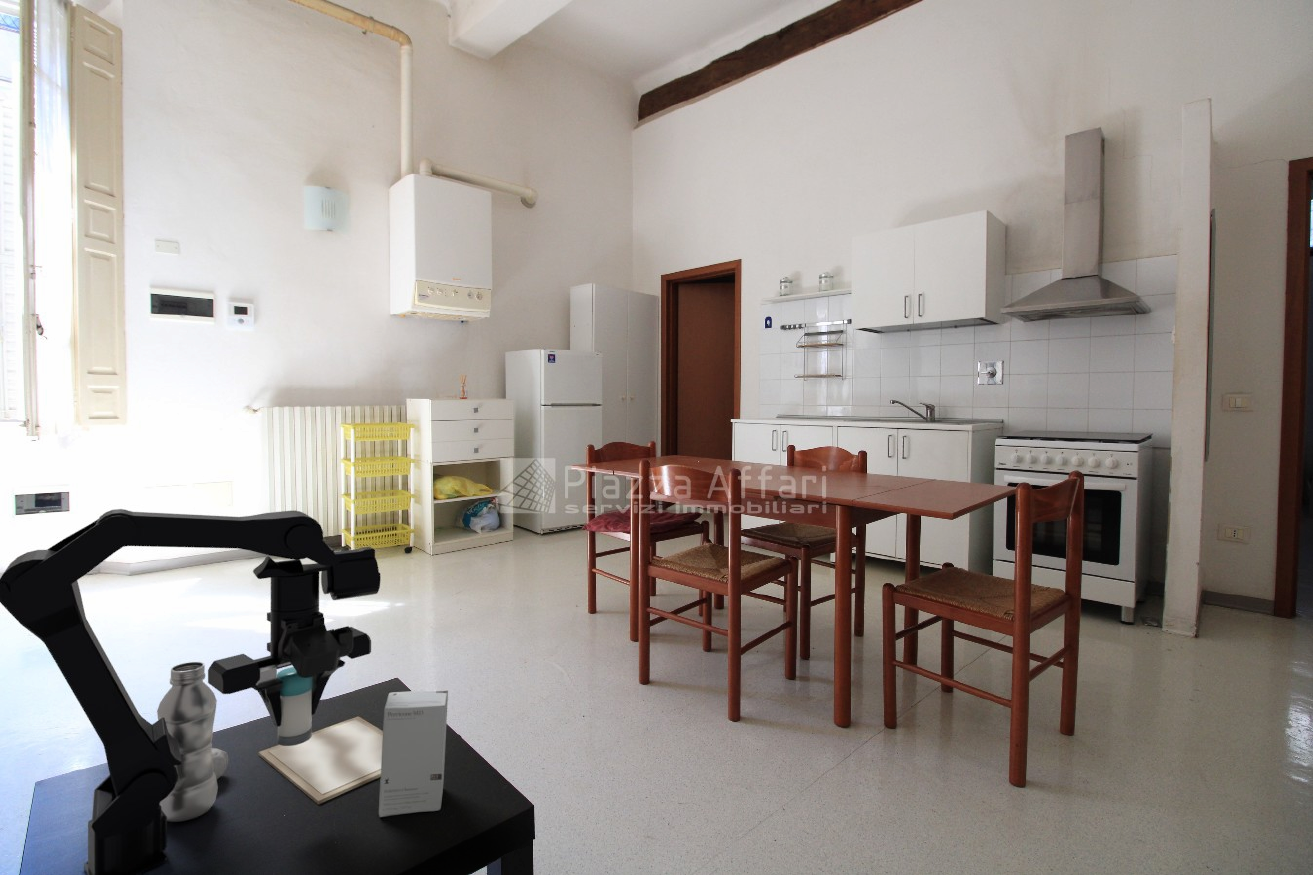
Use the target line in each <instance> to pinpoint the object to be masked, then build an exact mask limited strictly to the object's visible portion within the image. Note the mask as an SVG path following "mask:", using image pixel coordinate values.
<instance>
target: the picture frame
mask: <svg viewBox="0 0 1313 875" xmlns="http://www.w3.org/2000/svg"><path fill="white" fill-rule="evenodd" d="M382 741H383V729H382V730H381V729H380V728H379V727H377V726H375V725H373V724H372V723H370V722H368V721H367V720H365V719H363V718H362V717H360V716H356V717H352V718H350V719H346V720H344V721H341V722H339V723H336V724H333V725H331V726H327V727H325V728H322V729H319V730H317V731H314V732H313V731H312V737H311V738H310V739H309V740H307V741H306V742H304V743H301V744H298V745H293V746H282V745H279V744H277V745H275V746H271V747H269V748H267V749H264V750H261V751H258V756H259V757H260V758H261V759H263V760H264V761H265V762H266V763H267V764H268V765H270V766H271V767H272V768H274V770H276V771H277V772H278V773H279V774H281V775H282V776H283V777H284V778H285V779H287V781H289V782H291V784H293V785H294V786H295V787H296V788H298V789H299V790H300V791H301V792H303V793H304V794H305V795H306V796H307V797H309V799H311V800H312V801H313V802H315V803H316V804H317V805H321V804H323V803H325V802H327V801H329V800H332V799H334V798H336V797H338V796H340V795H342V794H345V793H347V792H350V791H351V790H354V789H356V788H358V787H360V786H363V785H366V784H367V783H369V782H371V781H374V780H376V779H379V778H381V761H382Z"/></svg>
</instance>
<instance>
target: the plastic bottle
mask: <svg viewBox="0 0 1313 875" xmlns="http://www.w3.org/2000/svg"><path fill="white" fill-rule="evenodd" d="M205 666H206V664H205V663H204V662H202V661H188V662H183V663H179V664H177V665H174V666H173V667H171V669H170V679H169V684H170V685H172V686H171V688H170V689H169V690H168V691H167V692H166V694H165V695H164V696H163V697H162V699H161V700H160V702H159V705H158V708H157V710H156V716H157V719H158V720H160V719H161V718H165V722H166V725H167V729H168V732H169V734H170V735H171V736H172V737H173V738H175V739H176V740H178V745H179V751H180V757H181V764H180V765H177V771H178V781H177V783H176V785H175V787H174V789H173V791H172V792H171V793H170V794H169V795H168V796H167V797H166V798H165V799H164V800H162V801H161V802H160V806H161V810H162V811H163V813H164V814H165V815H166V816H167V822H172V823H177V822H178V823H179V822H185V821H190V820H193V819H197V818H199V816H200V817H201V816H202V815H204V814H205V813H207V812H208V811H209V810H210V809H211V807H212V806H214V803H215V802H216V801H217V795H218V789H219V786H218V779H216V776H215V772H214V766H213V757H212V748H213V741H212V740H213V732H214V731H213V730H214V723H215V716H216V711H217V702H218V700H217V698H216V695H215V692H214V691H213V690H212V689H211V688H210V687H209V686H208V685H207V684H206V683H205V682H204V681H203V680H205V679H206V673H205V669H206V668H205ZM158 720H157V721H158Z"/></svg>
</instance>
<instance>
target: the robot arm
mask: <svg viewBox="0 0 1313 875" xmlns="http://www.w3.org/2000/svg"><path fill="white" fill-rule="evenodd" d="M125 547H150V548H151V547H152V548H153V547H154V548H156V547H157V548H158V547H160V548H194V549H195V548H196V549H197V548H200V549H201V548H203V549H238V550H244V551H250V552H253V553H254V552H255V553H258V554H263V555H266V557H265V559H263V561H262V562H261V563H260V564H259V565H258V566H256V567H255V568H253V570H252V573H253V574H254V576H255V577H256V578H257V579H258V580H262V579H263V580H264V579H270V612H266V621H268V622H270V641H269V642H266V651H267V652H269V653H270V655H267V656H264V657H260V658H255V659H253V658H251V657H250V656H248V655H246V654H245V653H240V654H235V655H232V656H228V657H224V658H221V659H216V660H213V661H212V663H211V665H210V666H209V668H208V670H207V684H209V685H211V686H212V688H214V689H215V690H217V691H218V692H220V694H222V695H231V694H235V693H238V692H242V691H246V690H249V689H253V690H255V691H257V693H258V694H259V696H260V698H261V699H262V702H263V703H264V706H265V708H266V710H267V712H268V714H269V716H270V718H271V720H272V722H273V725H275V727H277V728H278V727H279V726H281V718H282V714H281V700H280V688H281V686H282V684H283V681H281V680H280V679H278V678H277V674H278V671H277V670H279V669H283V668H286V667H287V668H288V667H290V666H291V667H294V668H295V670H296V672H297V674H298V675H299V676H300V677H302V678H309V677H312V676H313V687H312V716H314V715H315V714H316V711H317V709H318V706H319V704H320V701H321V698H322V696H323V693H324V690H325V688H326V686H327V684H328V682H329V681H330V678H331V676H332V675H333V673H335V672H336V671H337V670H338V669H339V668H342V667H344V666H345V664H346V661H344V660H342V659H341V658H343V657H344V658H345V657H347V658H349V659H352V660H353V659H356V658H360V657H363V656H367V655H370V654H371V653H372V639H371V636H370V635H369V634H368V633H366V632H364V631H361V630H359V629H357V628H355V627H352V626H350V627H349V626H344V627H343V626H342V627H340V628H335V629H334V628H333V629H328V630H327V627H326V624H325V617H324V613H323V612H321V611H320V583H321V589H322V592H323V594H324V595H330V597H331V599H332V600H333V601H338V600H346V599H351V598H352V599H353V598H359V597H366V596H373V595H376V594H377V595H378V593H379V590H380V587H381V573H380V571H379V564H378V561H377V558H376V550H375V548H373V547H371V546H364V547H359V548H357V549H347V550H346V549H345V550H338V551H335V549H334V548H332V547H331V546H329V545H328V544H327V543H326V542H325V541H324V531H323V527H322V526H321V524H320V523H319V522H318V521H317V520H316V519H315V518H313V517H311V516H310V515H308V514H306V513H304V512H302V511H299V510H282V511H281V510H280V511H273V512H263V513H258V514H252V515H245V516H231V515H230V516H228V515H225V516H224V515H209V514H207V515H205V514H190V513H189V514H187V513H167V512H165V513H164V512H150V511H149V512H143V511H132V510H128V509H122V508H117V509H111V510H109V511H106V512H104V513H103V514H101V515H100V516H99V517H98V518H97V519H96V520H94V521H92V522H90V524H88V525H86V526H84V527H83V528H81V529H79V530H77V531H75V532H73V533H71V534H70V535H68V536H67V537H65V538H63V539H62V540H60V541H59V542H57V543H55V544H53V545H52V546H50V547H49V548H47V549H36V550H31V551H28V552H25V553H23V554H21V555H19V556H17V557H16V558H15V559H14V560H13V561H11V562H10V563H9V565H8V566H7V568H6V569H5V570H4V571H3V573H2V574H1V577H0V604H1V605H2V606H3V608H5V610H6V611H7V612H8V613H9V614H10V615H11V616H12V617H13V618H14V619H15V620H16V621H18V623H19V624H20V625H21V626H22V627H24V628H25V629H27V630H28V631H29V632H30V633H32V634H33V635H34V636H35V637H37V638H38V639H39V640H41V641H42V643H43V645H45V646H46V648H47V650H48V652H49V653H50V655H51V657H52V659H53V661H54V662H55V664H56V665H57V667H58V669H59V670H60V672H61V674H62V676H63V677H64V679H65V681H66V682H67V684H68V687H69V688H70V690H71V692H72V693H73V695H74V696H75V698H76V700H77V702H78V703H79V704H80V707H81V708H82V710H83V712H84V714H85V715H86V717H87V719H88V721H89V722H90V724H91V726H92V727H93V729H94V731H95V733H96V734H97V736H98V738H99V739H100V741H101V742H102V745H103V749H104V752H105V756H106V758H105V759H106V762H107V768H108V773H109V774H108V776H107V777H106V778H104V780H103V781H101V783H99V785H98V786H96V787H95V789H94V791H93V801H92V815H91V816H92V818H91V819H89V820H88V821H87V852H88V853H87V858H88V859H87V861H85V862H84V864H83V869H84V871H85V873H86V874H87V875H140V874H143V873H145V872H147V871H150V870H152V869H154V868H156V867H158V866H161V865H163V864H165V863H166V862H167V855H166V853H165V852H164V851H165V850H166V849H167V847H168V821H167V816H166V815H165V814H164V813H163V811H162V810H161V806H160V802H161V801H162V800H164V799H165V798H166V797H167V796H168V795H169V794H170V793H171V792H172V791H173V789H174V787H175V785H176V783H177V781H178V771H177V765H180V764H181V757H180V751H179V745H178V740H176V739H175V738H173V737H172V736H171V735H170V734H169V732H168V729H167V725H166V722H165V718H161V719H160V720H157V721H155V722H154V723H150V722H149V721H148V720H147V719H145V718H144V717H142V715H141V714H140V713H139V711H138V710H137V707H136V705H135V704H134V702H133V700H132V698H131V696H130V694H129V693H128V691H127V690H126V686H124V684H123V682H122V680H121V679H120V676H119V675H118V673H117V671H116V669H115V667H114V666H113V664H112V662H111V661H110V659H109V657H108V655H107V654H106V651H105V650H104V648H103V646H102V645H101V642H100V641H99V639H98V637H97V635H96V634H95V631H94V630H93V628H92V627H91V624H90V623H89V621H88V619H87V617H86V613H85V612H86V611H85V607H84V603H83V599H82V598H83V597H82V593H81V589H80V586H79V582H78V580H80V579H81V578H82V577H84V576H86V575H87V574H88V573H89V572H91V571H93V570H94V569H95V568H96V567H98V566H99V565H100V564H101V563H103V562H104V561H105V560H106V559H108V558H109V557H111V556H112V555H113V554H115V553H116V552H118V551H119V550H120V549H122V548H125ZM271 556H272V557H278V558H282V559H288V560H282V561H275V560H273V559H272V558H271ZM305 559H309V560H310V561H312V562H314V563H304V564H303V563H302V561H301V560H305ZM320 572H321V573H320ZM320 580H321V581H320Z"/></svg>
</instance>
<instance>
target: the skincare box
mask: <svg viewBox="0 0 1313 875" xmlns="http://www.w3.org/2000/svg"><path fill="white" fill-rule="evenodd" d="M448 698H449V690H448V689H439V690H438V689H437V690H423V689H421V690H418V689H417V690H411V691H409V690H408V691H396V692H395V691H394V692H389V693H388V696H387V699H386V703H385V705H384V710H383V723H382V724H383V725H382V726H383V728H382V731H383V741H382V761H381V777H380V781H379V782H380V783H379V796H378V797H379V798H378V799H379V801H378V802H379V803H378V815H379V818H384V817H391V816H398V815H405V814H413V813H423V812H436V811H440V810H441V808H442V800H443V799H442V798H443V792H444V790H443V789H444V779H445V777H444V776H445V760H446V759H445V758H446V741H447V740H446V739H447V738H446V737H447V720H448V718H447V717H448V700H449V699H448Z"/></svg>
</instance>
